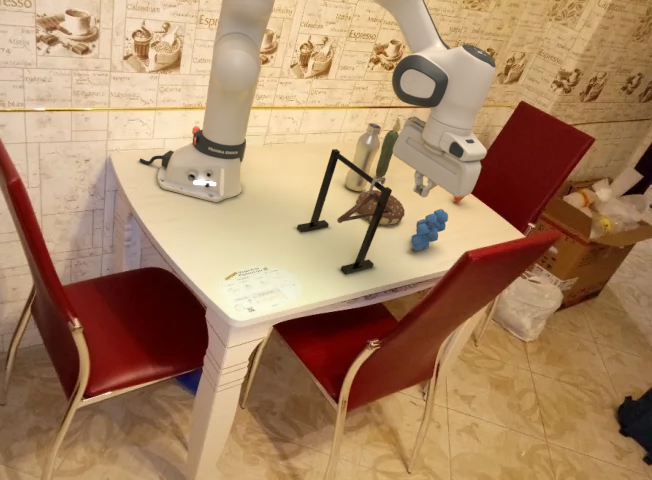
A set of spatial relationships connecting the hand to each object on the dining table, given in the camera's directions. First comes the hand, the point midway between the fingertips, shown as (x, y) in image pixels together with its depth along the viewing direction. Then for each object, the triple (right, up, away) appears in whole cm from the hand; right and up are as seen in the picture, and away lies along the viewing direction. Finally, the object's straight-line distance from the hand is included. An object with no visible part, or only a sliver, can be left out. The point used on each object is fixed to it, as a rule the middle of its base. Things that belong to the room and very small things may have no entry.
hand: (419, 194), depth 113 cm
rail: (-17, -11, +17) cm, 26 cm away
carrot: (+26, +6, +54) cm, 60 cm away
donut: (-3, 0, +36) cm, 36 cm away
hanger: (-11, -4, +6) cm, 13 cm away
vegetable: (+1, +14, +56) cm, 57 cm away
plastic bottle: (-8, +9, +46) cm, 47 cm away
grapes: (+7, -10, +26) cm, 29 cm away
